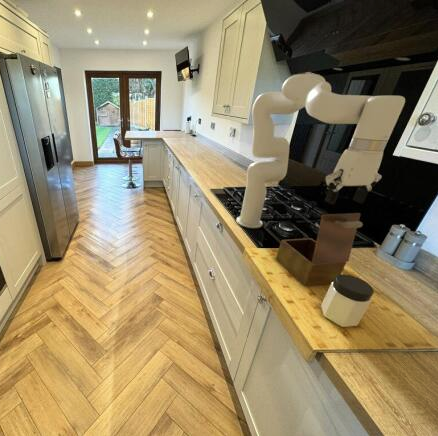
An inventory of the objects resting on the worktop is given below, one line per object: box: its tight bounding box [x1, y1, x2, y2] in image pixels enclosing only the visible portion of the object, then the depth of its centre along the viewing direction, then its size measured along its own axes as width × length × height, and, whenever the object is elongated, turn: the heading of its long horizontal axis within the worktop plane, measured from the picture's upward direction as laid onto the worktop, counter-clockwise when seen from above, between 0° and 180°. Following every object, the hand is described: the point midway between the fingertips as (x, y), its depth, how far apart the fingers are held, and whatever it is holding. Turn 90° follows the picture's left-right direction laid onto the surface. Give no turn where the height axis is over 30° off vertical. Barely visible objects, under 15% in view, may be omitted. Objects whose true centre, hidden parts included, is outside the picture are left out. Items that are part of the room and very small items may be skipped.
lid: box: [312, 212, 364, 264], centre depth 72 cm, size 16×13×5 cm
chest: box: [275, 237, 347, 287], centre depth 86 cm, size 16×13×9 cm
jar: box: [320, 273, 375, 328], centre depth 66 cm, size 9×8×12 cm
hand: (343, 202), depth 73 cm, fingers open, 9 cm apart
